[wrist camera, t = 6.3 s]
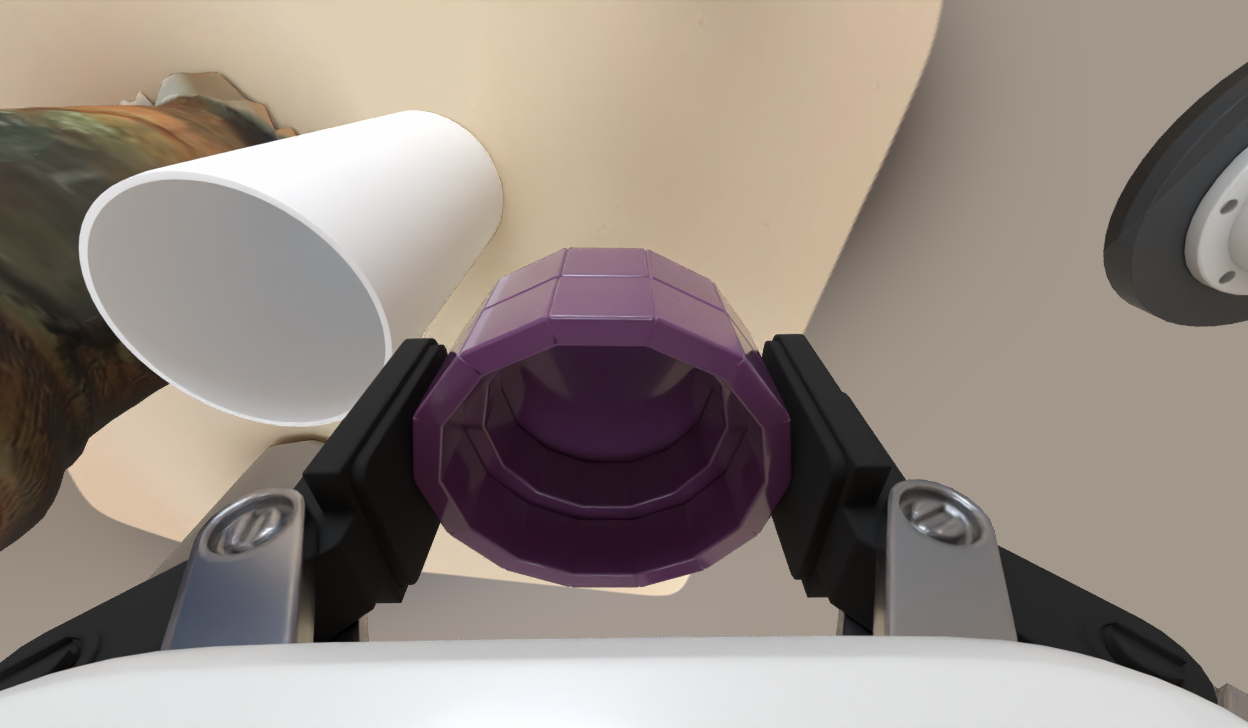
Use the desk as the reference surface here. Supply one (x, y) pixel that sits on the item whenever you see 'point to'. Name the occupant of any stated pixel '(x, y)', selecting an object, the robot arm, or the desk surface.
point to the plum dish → (603, 424)
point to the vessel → (52, 276)
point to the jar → (255, 486)
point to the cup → (291, 261)
